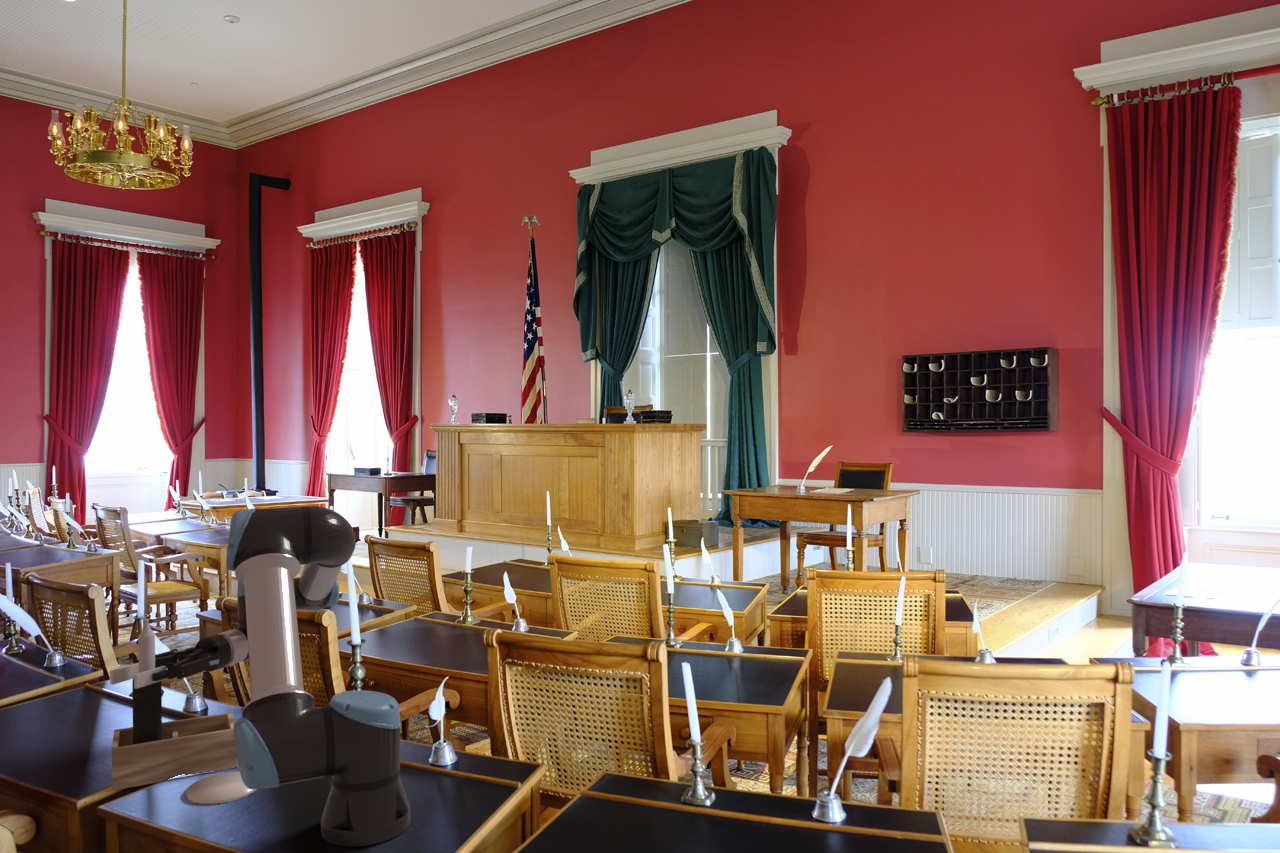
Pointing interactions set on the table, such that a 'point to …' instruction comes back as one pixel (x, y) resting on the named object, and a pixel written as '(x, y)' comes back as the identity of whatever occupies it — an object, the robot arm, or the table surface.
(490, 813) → the table surface
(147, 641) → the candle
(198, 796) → the plate
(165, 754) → the candle box
